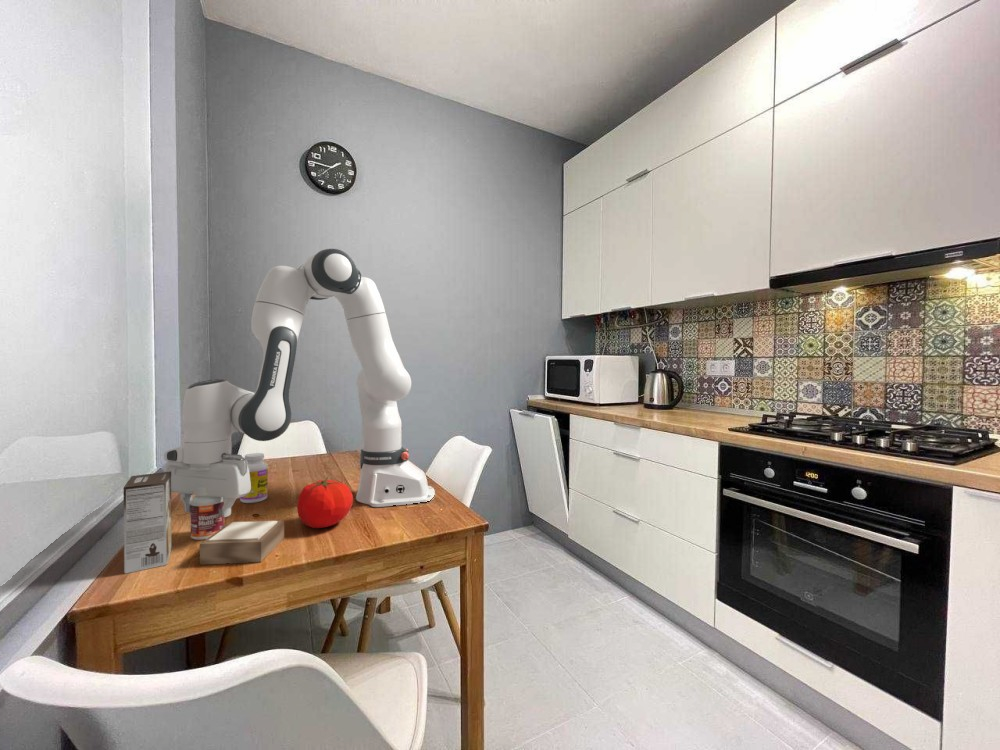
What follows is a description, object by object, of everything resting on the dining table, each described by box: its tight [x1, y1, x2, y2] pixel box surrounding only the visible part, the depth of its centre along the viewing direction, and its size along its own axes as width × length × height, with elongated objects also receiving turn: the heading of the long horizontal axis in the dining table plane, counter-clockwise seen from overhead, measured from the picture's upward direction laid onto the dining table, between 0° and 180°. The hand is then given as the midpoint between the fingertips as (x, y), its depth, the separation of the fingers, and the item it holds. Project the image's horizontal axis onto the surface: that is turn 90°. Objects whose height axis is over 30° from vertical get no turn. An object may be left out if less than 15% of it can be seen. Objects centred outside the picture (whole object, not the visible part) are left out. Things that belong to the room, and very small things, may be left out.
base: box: [199, 520, 285, 566], centre depth 84 cm, size 11×11×4 cm
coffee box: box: [123, 471, 173, 574], centre depth 79 cm, size 9×6×16 cm
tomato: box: [296, 476, 354, 529], centre depth 98 cm, size 13×12×11 cm
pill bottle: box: [190, 487, 225, 541], centre depth 91 cm, size 6×6×11 cm
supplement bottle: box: [239, 452, 269, 504], centre depth 115 cm, size 7×7×13 cm
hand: (207, 513), depth 91 cm, fingers open, 8 cm apart
